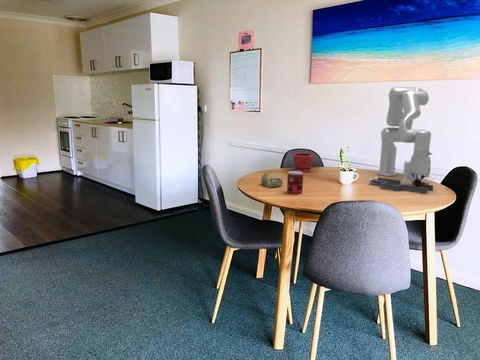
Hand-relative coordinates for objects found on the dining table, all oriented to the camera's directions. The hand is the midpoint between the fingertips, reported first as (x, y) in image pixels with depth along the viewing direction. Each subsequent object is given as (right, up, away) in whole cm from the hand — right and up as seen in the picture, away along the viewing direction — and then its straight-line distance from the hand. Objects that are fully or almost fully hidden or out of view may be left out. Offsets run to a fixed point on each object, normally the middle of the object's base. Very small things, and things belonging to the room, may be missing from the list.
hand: (417, 186), depth 206 cm
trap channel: (-7, -1, +7) cm, 10 cm away
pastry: (-80, 0, +8) cm, 80 cm away
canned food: (-69, -3, -10) cm, 70 cm away
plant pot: (-54, +10, +55) cm, 78 cm away
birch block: (-4, -1, +4) cm, 6 cm away
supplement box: (+6, +2, +21) cm, 22 cm away
